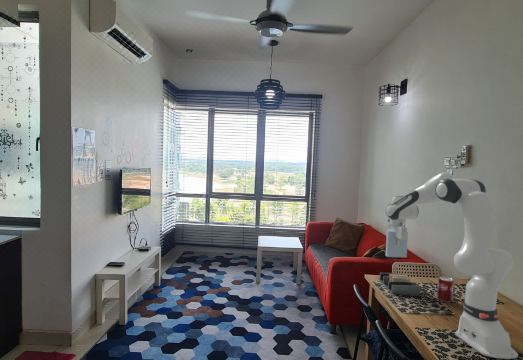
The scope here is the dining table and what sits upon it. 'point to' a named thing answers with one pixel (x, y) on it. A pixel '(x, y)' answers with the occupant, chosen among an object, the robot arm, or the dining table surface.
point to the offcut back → (396, 276)
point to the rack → (399, 285)
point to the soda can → (445, 289)
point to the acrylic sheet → (395, 246)
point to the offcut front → (400, 279)
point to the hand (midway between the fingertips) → (396, 243)
